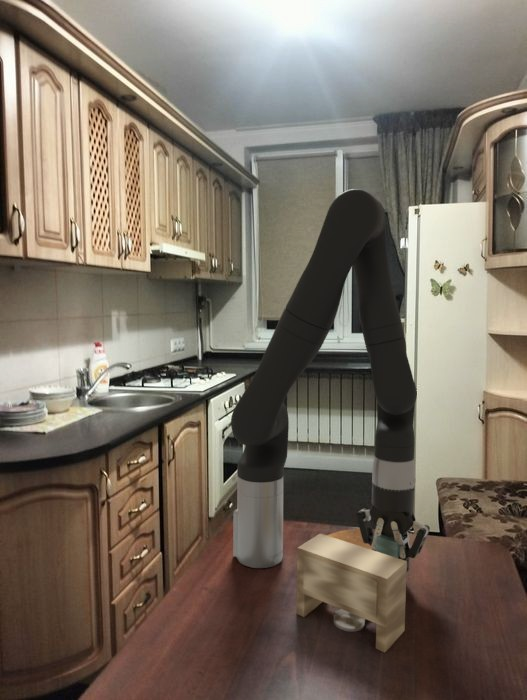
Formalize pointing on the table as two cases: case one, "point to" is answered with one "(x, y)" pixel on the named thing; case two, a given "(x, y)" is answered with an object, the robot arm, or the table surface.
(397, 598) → the wooden arch block
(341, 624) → the disc
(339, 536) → the pottery shard
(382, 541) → the two-colour block
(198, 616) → the table surface
